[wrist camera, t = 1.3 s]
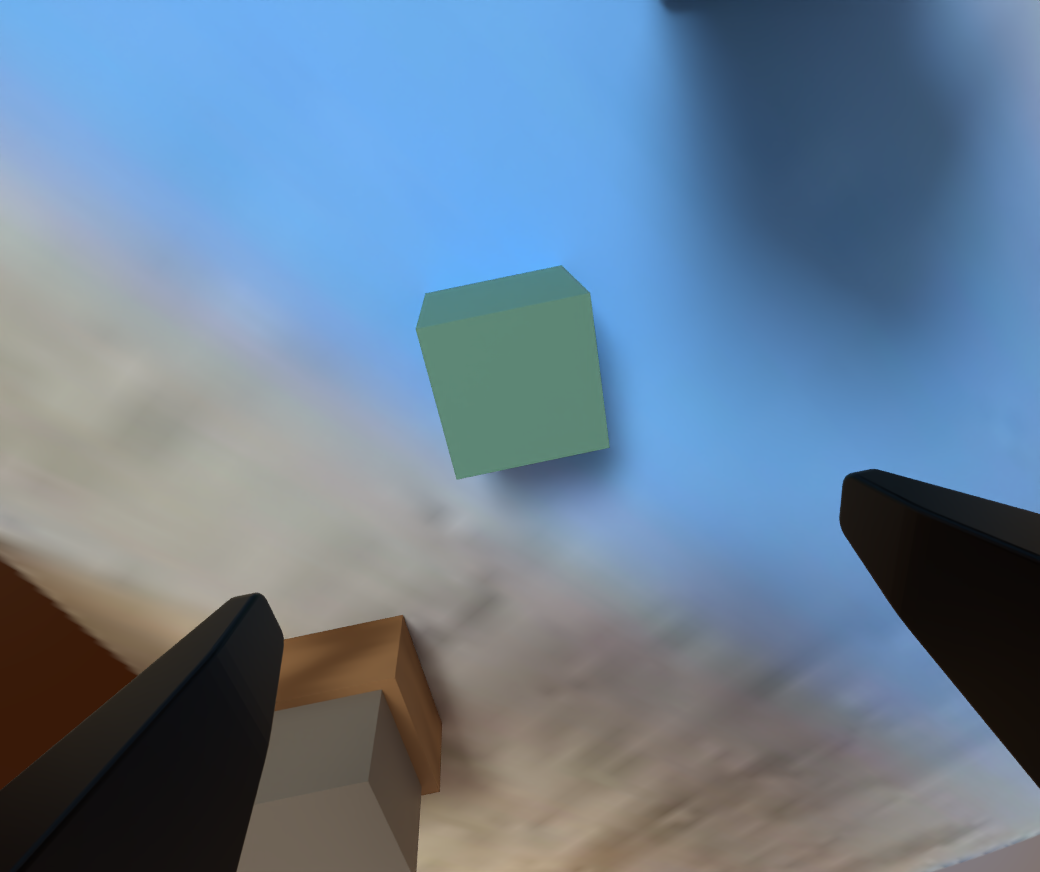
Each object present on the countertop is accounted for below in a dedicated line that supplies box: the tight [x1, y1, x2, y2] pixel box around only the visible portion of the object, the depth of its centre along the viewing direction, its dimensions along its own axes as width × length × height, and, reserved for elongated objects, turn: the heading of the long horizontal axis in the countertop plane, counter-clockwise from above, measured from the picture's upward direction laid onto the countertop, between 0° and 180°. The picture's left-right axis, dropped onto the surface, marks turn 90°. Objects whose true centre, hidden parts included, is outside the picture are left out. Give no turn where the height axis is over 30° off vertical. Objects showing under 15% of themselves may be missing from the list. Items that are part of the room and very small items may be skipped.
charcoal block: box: [237, 689, 422, 872], centre depth 21 cm, size 6×6×4 cm
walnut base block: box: [275, 615, 442, 795], centre depth 24 cm, size 7×7×4 cm
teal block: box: [416, 265, 610, 479], centre depth 17 cm, size 4×4×4 cm
